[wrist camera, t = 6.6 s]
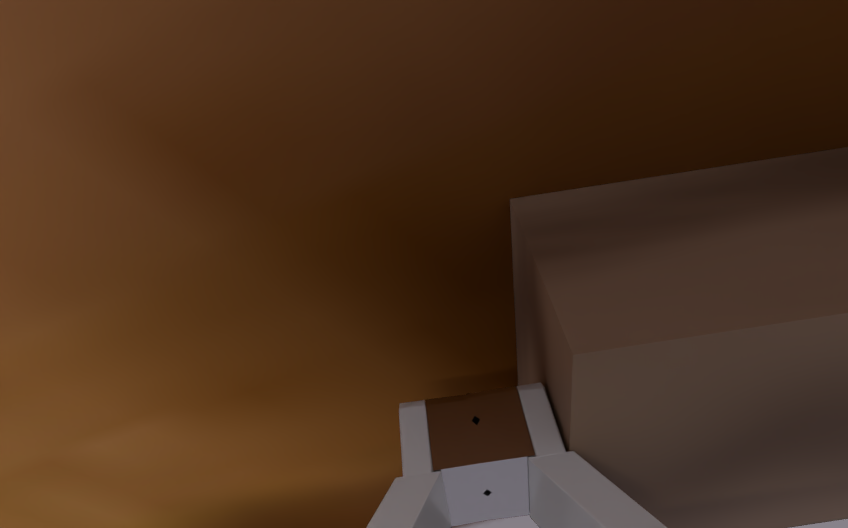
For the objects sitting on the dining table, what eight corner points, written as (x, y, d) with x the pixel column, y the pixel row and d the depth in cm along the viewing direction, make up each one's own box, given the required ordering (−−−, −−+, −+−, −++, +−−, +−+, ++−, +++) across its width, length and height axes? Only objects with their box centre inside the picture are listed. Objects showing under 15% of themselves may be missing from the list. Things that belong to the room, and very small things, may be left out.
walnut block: (508, 198, 12) (573, 354, 8) (994, 123, 12) (1269, 248, 8) (518, 392, 16) (565, 560, 12) (892, 335, 16) (1053, 487, 12)
